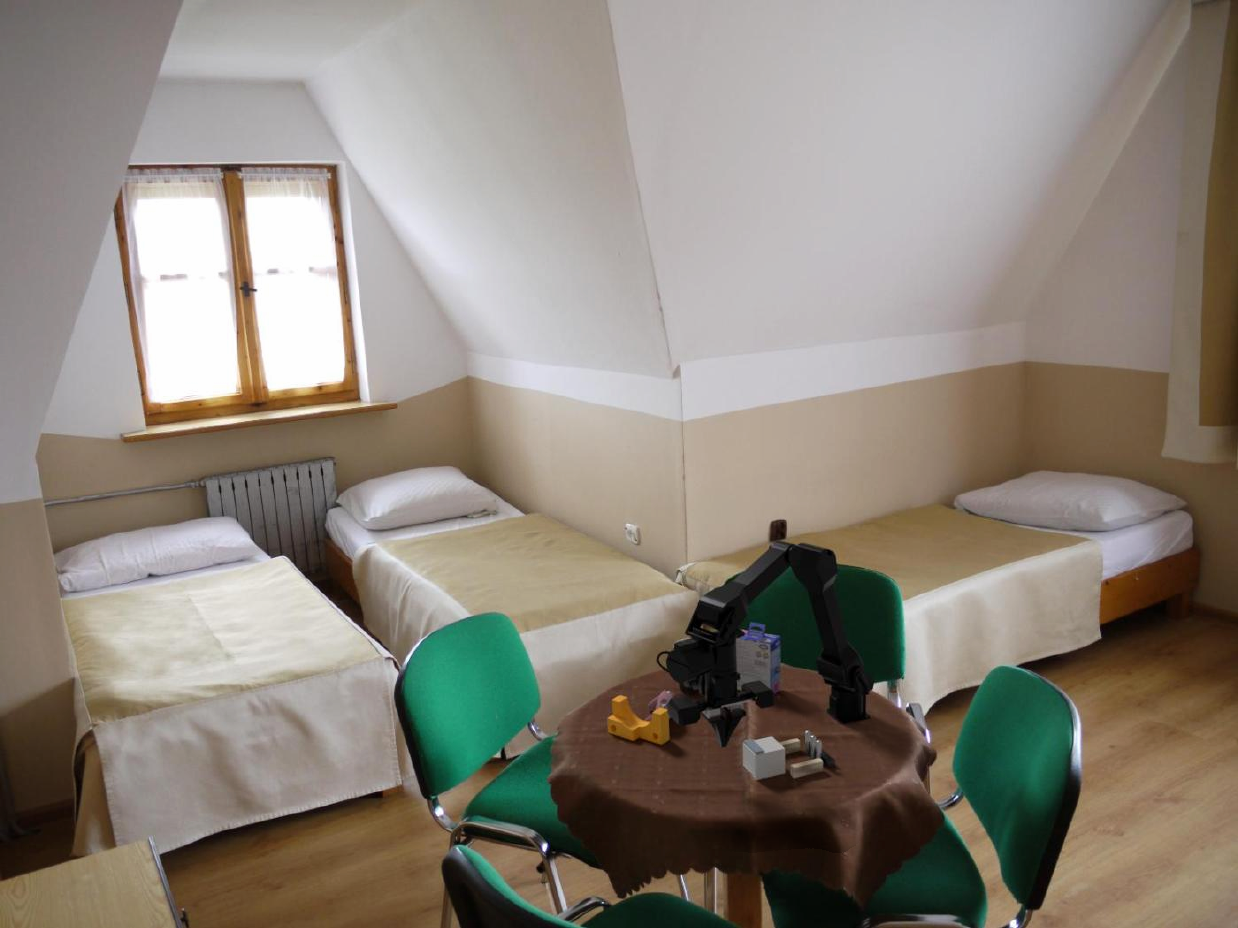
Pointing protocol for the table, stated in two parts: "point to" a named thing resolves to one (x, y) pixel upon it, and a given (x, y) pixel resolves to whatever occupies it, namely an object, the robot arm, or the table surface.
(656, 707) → the video game controller
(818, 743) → the silver rod block
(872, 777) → the table surface
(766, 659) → the ink cartridge box
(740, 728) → the table surface
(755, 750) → the plug block
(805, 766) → the guide rails
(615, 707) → the pipe clamp
